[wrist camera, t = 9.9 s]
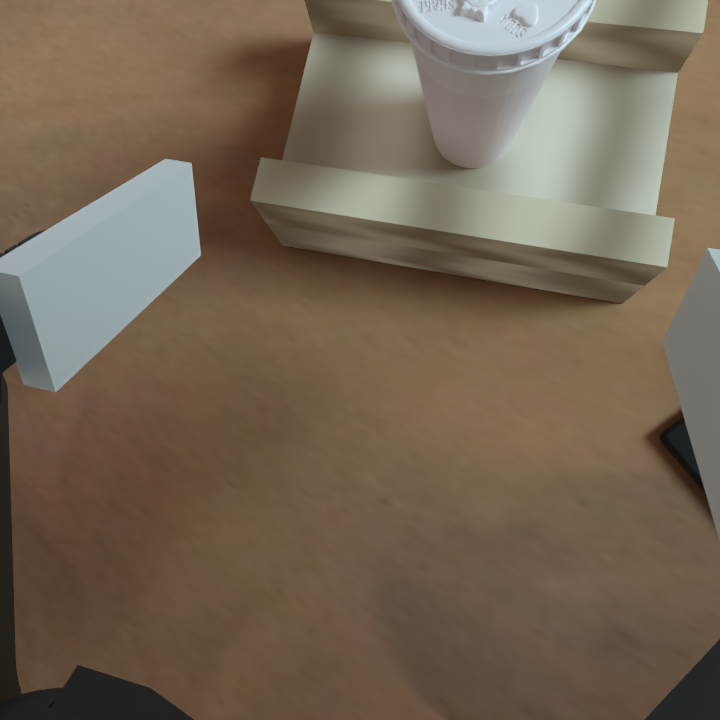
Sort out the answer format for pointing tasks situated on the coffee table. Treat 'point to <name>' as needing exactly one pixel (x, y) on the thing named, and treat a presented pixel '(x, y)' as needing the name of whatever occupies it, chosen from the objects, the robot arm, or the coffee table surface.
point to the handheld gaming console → (682, 449)
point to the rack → (499, 180)
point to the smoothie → (485, 66)
